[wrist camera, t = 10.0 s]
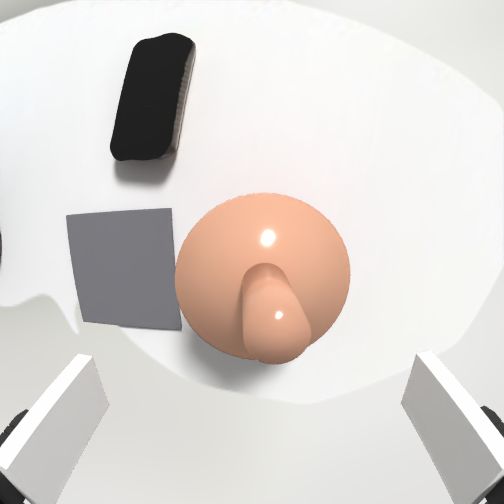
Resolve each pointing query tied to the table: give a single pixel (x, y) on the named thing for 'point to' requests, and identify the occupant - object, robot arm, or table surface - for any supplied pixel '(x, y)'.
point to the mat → (125, 267)
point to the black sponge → (153, 98)
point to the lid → (262, 277)
